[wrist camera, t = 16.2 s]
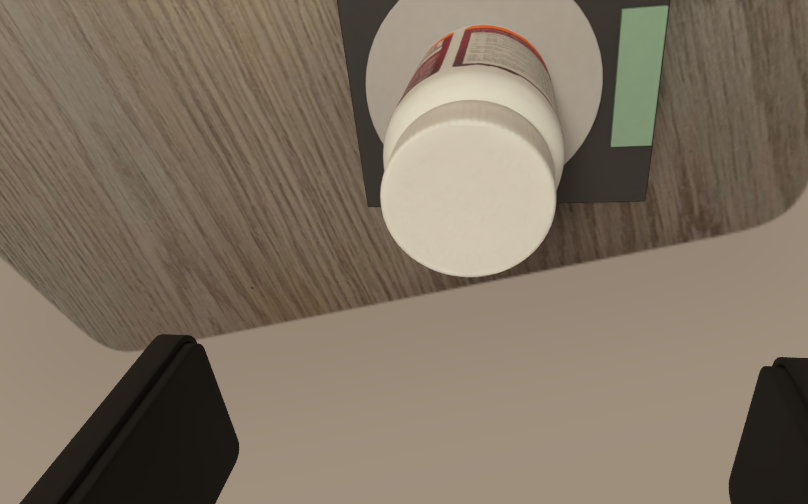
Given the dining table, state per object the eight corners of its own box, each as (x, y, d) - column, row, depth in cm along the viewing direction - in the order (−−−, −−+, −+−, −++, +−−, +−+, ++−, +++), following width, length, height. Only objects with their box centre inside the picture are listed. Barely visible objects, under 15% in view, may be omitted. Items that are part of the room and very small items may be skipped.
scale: (666, -82, 24) (684, -79, 22) (636, 180, 31) (648, 207, 28) (344, -48, 27) (326, -41, 24) (376, 187, 33) (365, 212, 31)
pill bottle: (433, 167, 29) (394, 306, 19) (397, 41, 26) (331, 131, 16) (561, 141, 27) (589, 278, 17) (539, 2, 24) (556, 77, 15)
